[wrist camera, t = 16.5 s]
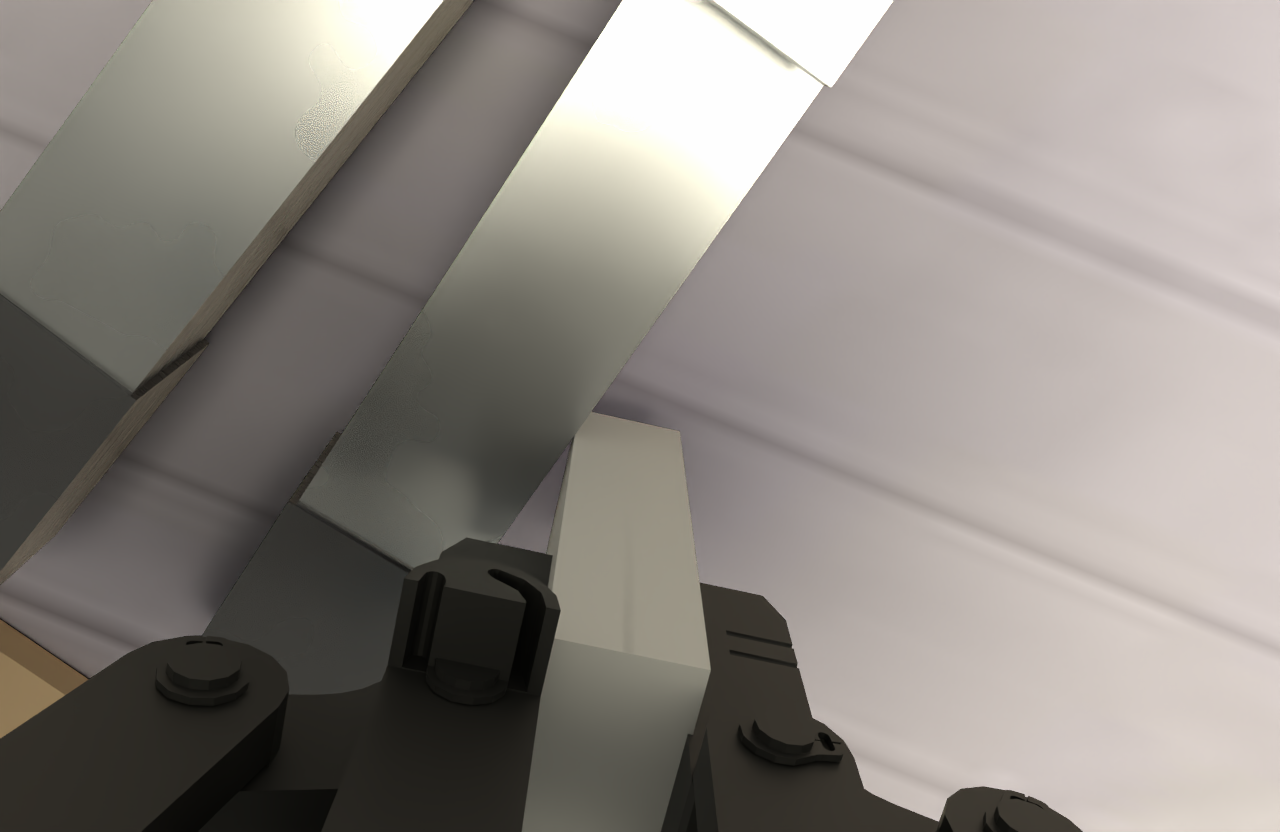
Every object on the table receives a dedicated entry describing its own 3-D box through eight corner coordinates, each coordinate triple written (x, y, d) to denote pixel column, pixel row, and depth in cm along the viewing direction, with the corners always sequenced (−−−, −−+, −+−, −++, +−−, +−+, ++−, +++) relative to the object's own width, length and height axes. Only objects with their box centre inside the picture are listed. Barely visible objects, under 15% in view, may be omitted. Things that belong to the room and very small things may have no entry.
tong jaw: (882, -414, 14) (988, -590, 10) (1047, -274, 15) (1211, -387, 11) (208, 631, 18) (90, 805, 14) (352, 713, 19) (278, 902, 15)
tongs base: (-85, 421, 18) (-272, 527, 14) (833, -820, 13) (915, -1148, 10) (215, 634, 19) (115, 783, 15) (1149, -440, 14) (1330, -600, 11)
